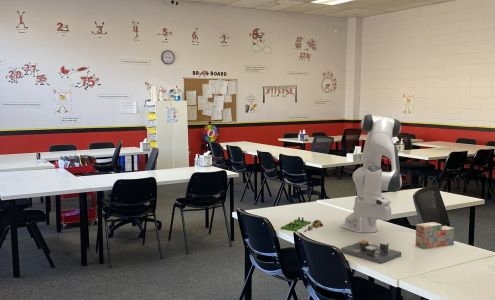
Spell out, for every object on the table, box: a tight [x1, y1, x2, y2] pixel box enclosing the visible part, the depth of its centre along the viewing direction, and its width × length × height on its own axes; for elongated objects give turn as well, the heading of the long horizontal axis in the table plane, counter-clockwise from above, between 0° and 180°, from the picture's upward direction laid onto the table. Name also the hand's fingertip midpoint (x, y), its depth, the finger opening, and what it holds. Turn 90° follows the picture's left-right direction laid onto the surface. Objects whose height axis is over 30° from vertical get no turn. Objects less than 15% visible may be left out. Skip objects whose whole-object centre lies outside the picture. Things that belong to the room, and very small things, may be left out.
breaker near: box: [366, 246, 376, 255], centre depth 239 cm, size 4×4×3 cm
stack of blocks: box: [415, 221, 455, 250], centre depth 262 cm, size 21×6×12 cm, turn 113°
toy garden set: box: [280, 216, 324, 233], centre depth 298 cm, size 23×19×5 cm
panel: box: [340, 242, 402, 265], centre depth 246 cm, size 24×18×2 cm
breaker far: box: [379, 240, 390, 250], centre depth 247 cm, size 4×4×3 cm
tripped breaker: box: [358, 239, 370, 249], centre depth 249 cm, size 4×4×3 cm
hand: (371, 225), depth 245 cm, fingers closed
